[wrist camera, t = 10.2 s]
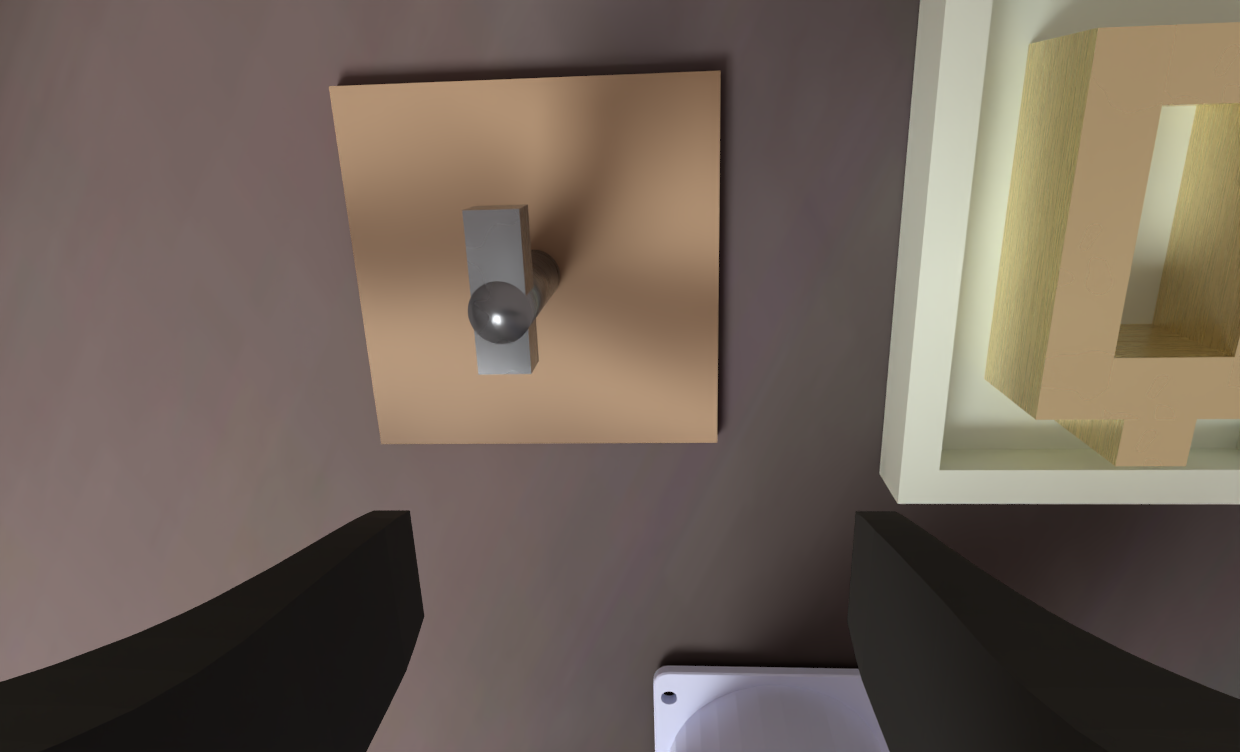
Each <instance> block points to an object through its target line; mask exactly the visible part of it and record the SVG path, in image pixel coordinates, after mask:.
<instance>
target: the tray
mask: <svg viewBox="0 0 1240 752" xmlns="http://www.w3.org/2000/svg"><path fill="white" fill-rule="evenodd" d="M1228 22H1240V0H920V7H919V19H918V31H917V42H916V54H915V65H914V77H913V89H912V100H911V112H910V123H909V135H908V147H907V158H906V170H905V182H904V193H903V205H902V216H901V228H900V240H899V251H898V263H897V275H896V286H895V298H894V309H893V321H892V333H891V344H890V356H889V367H888V379H887V391H886V402H885V414H884V426H883V437H882V449H881V460H880V472H879V474H880V476H881V477H882V479H883V481H884V482H885V484H886V485H887V487H888V489H889V490H890V492H891V494H892V495H893V497H894V499H895V500H896V502H897V503H898V504H1240V419H1197V421H1196V425H1195V429H1194V434H1193V438H1192V442H1191V446H1190V451H1189V455H1188V459H1187V464H1186V466H1114V465H1113V464H1112V463H1110V462H1109V461H1108V460H1106V459H1105V458H1104V457H1102V456H1101V455H1100V454H1098V453H1097V452H1096V451H1094V450H1093V449H1092V448H1090V447H1089V446H1088V445H1086V444H1085V443H1084V442H1082V441H1081V440H1080V439H1078V438H1077V437H1076V436H1074V435H1073V434H1072V433H1070V432H1069V431H1068V430H1067V429H1065V428H1064V427H1063V426H1061V425H1060V424H1059V423H1057V422H1056V421H1055V420H1035V419H1034V418H1033V417H1032V416H1030V415H1029V414H1028V413H1027V412H1025V411H1024V410H1023V409H1021V408H1020V407H1019V406H1018V405H1016V404H1015V403H1014V402H1013V401H1011V400H1010V399H1009V398H1008V397H1006V396H1005V395H1004V394H1003V393H1001V392H1000V391H999V390H997V389H996V388H995V387H994V386H992V385H991V384H990V383H989V382H987V381H986V380H985V379H984V376H985V369H986V361H987V354H988V346H989V339H990V331H991V324H992V316H993V309H994V301H995V294H996V286H997V279H998V271H999V264H1000V256H1001V249H1002V241H1003V234H1004V226H1005V219H1006V211H1007V204H1008V196H1009V189H1010V181H1011V174H1012V166H1013V159H1014V151H1015V144H1016V136H1017V129H1018V121H1019V114H1020V106H1021V99H1022V91H1023V84H1024V76H1025V69H1026V61H1027V54H1028V46H1029V44H1032V43H1036V42H1040V41H1045V40H1049V39H1053V38H1057V37H1061V36H1065V35H1070V34H1074V33H1078V32H1082V31H1086V30H1090V29H1095V28H1101V27H1126V26H1152V25H1177V24H1203V23H1228ZM1195 111H1196V106H1169V107H1162V109H1161V114H1160V119H1159V124H1158V130H1157V135H1156V140H1155V145H1154V151H1153V156H1152V161H1151V166H1150V172H1149V177H1148V182H1147V187H1146V193H1145V198H1144V203H1143V208H1142V214H1141V219H1140V224H1139V229H1138V235H1137V240H1136V245H1135V250H1134V256H1133V261H1132V266H1131V271H1130V277H1129V282H1128V287H1127V292H1126V298H1125V303H1124V308H1123V313H1122V319H1121V324H1152V321H1153V316H1154V311H1155V307H1156V302H1157V297H1158V292H1159V287H1160V282H1161V277H1162V272H1163V267H1164V263H1165V258H1166V253H1167V248H1168V243H1169V238H1170V233H1171V228H1172V223H1173V218H1174V214H1175V209H1176V204H1177V199H1178V194H1179V189H1180V184H1181V179H1182V174H1183V169H1184V165H1185V160H1186V155H1187V150H1188V145H1189V140H1190V135H1191V130H1192V125H1193V121H1194V116H1195Z"/></svg>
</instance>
